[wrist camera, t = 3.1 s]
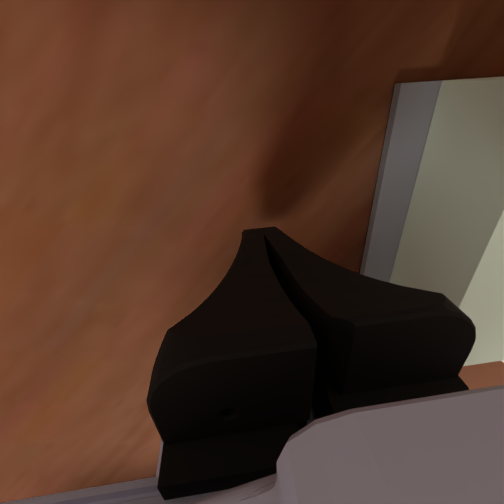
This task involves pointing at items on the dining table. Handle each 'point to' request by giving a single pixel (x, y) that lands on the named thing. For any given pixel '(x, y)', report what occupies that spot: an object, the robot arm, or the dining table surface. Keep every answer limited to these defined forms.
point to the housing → (461, 211)
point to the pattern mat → (398, 173)
